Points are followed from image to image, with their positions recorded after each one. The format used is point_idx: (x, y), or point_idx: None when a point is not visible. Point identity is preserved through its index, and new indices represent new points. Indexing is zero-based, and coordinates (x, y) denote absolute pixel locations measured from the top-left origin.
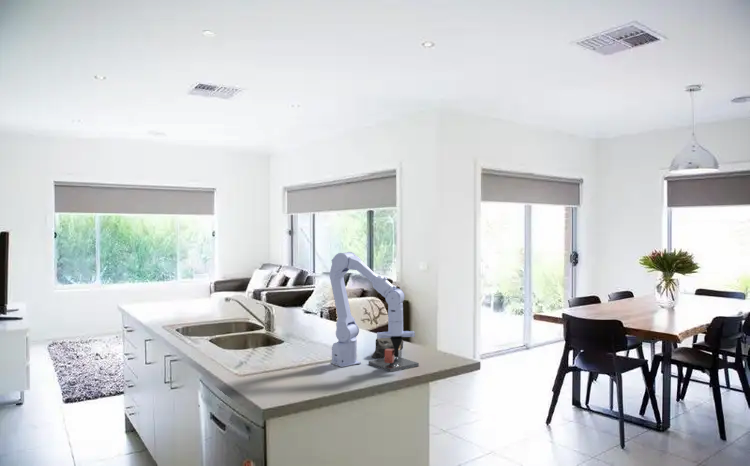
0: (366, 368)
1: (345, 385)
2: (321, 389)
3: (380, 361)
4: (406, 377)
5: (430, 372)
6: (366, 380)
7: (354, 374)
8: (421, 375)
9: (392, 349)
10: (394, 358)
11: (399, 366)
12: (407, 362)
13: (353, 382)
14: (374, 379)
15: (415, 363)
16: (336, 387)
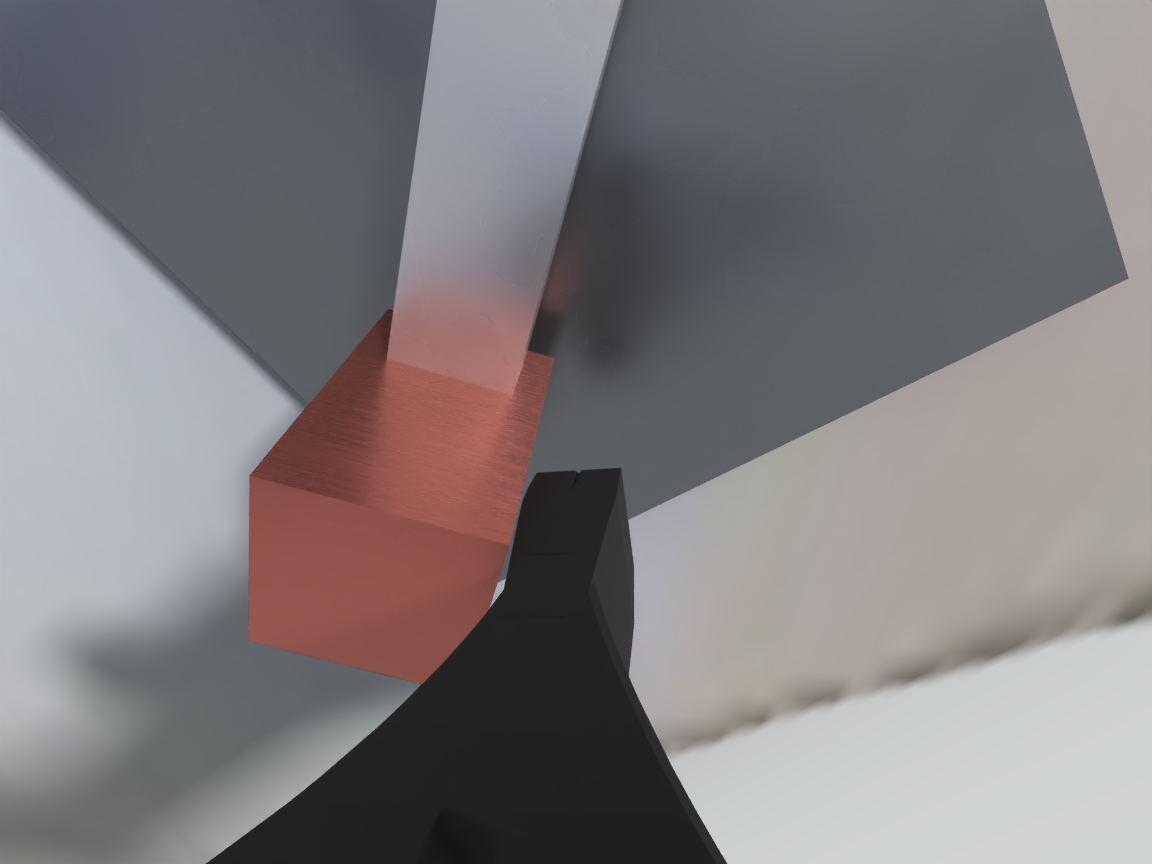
0: (109, 366)
1: (154, 818)
2: (29, 852)
3: (239, 104)
4: (690, 723)
5: (1088, 599)
6: (283, 753)
7: (80, 601)
8: (895, 685)
9: (459, 585)
10: (566, 205)
11: (648, 491)
12: (881, 216)
13: (186, 778)
14: (352, 739)
15: (1036, 309)
16: (109, 838)
